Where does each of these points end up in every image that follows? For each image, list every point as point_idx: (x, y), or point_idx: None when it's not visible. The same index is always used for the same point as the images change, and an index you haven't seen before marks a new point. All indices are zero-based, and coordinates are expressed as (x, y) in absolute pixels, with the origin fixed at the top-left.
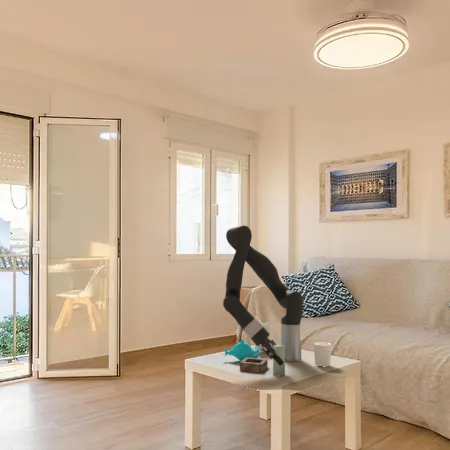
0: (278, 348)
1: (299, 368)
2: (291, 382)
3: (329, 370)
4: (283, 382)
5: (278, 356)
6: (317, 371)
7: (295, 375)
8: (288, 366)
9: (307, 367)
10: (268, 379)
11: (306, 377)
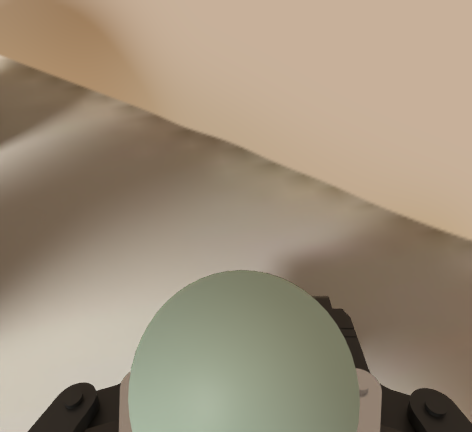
0: (349, 376)
1: (49, 243)
2: (418, 227)
3: (64, 84)
4: (449, 277)
5: None
6: (100, 133)
7: (236, 235)
8: (6, 327)
9: (15, 200)
10: None
11: (257, 165)
